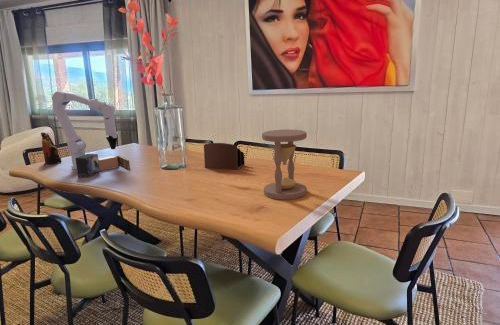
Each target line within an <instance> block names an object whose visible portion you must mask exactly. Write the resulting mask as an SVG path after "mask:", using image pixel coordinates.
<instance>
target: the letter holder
mask: <svg viewBox="0 0 500 325" xmlns="http://www.w3.org/2000/svg"><path fill="white" fill-rule="evenodd" d="M203 154H204V155H203V156H204V158H203V159H204V168H206V169H218V170H232V171H233V170H234V171H235V170H236V171H238V170H240V169H241V168H242V167H244V166H245V153H244V151H241V149H240V148H238V146H237V145H236V144H234V143H233V144H231V143H225V142H213V143H212V142H211V143H210V142H209V143H205V144H203Z"/></svg>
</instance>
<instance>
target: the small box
mask: <svg viewBox="0 0 500 325" xmlns="http://www.w3.org/2000/svg"><path fill="white" fill-rule="evenodd" d="M75 159H76V166H77V169H76V171H77V177H78V178H89V177H92V176H94V175H96V174H100V173H101V170H100V168H99V161H98V159H99V154H98V153H85V155H83V156H80V157H76V158H75ZM99 172H100V173H99Z"/></svg>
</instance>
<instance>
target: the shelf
mask: <svg viewBox="0 0 500 325" xmlns="http://www.w3.org/2000/svg"><path fill="white" fill-rule="evenodd" d="M115 156H116V157H117V159H118V166H121V167H123V168H124V169H127V170H130V169H131V165H130V160H129V159H128V158H125V157H123V156H122V155H115Z"/></svg>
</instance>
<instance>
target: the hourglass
mask: <svg viewBox="0 0 500 325" xmlns="http://www.w3.org/2000/svg"><path fill="white" fill-rule="evenodd" d="M307 137H308V135H307V132H306V131H305V130H301V129H300V130H299V129H272V130H268V131H264V132H262V134H261V138H262V140H263V141H265V142H271V143H274V144H273V145H272V148H273V149H272V150H274V156H273V161H274V164H275V170H274V181H273V182H270V183H269V184H266V185H265V186H263V187H264V188H263V193H264V195H265V196H266V197H267V198H269V199H275V200H281V201H283V200H285V201H286V200H287V201H288V200H295V199H300V198H302V197H305V196H306V194H307V192H308V189H307V185H305V184H304V183H300V182H297V181H296V180H295V163H294V160H293V159H294V155H295V150H296V147H297V145H296V144H294V142H298V141H303V140H306V138H307ZM281 165H282V166H286V167H287V174H288V177H286V176H283V172H282V169H281Z"/></svg>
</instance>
